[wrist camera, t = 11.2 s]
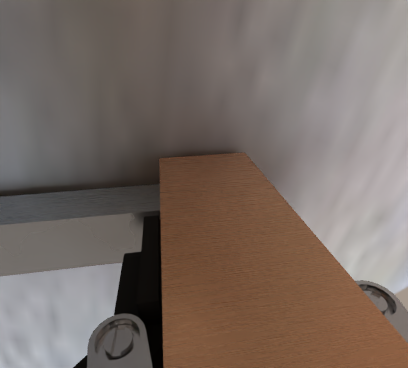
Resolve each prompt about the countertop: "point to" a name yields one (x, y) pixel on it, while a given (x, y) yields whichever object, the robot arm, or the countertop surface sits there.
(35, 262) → the crook tool
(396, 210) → the countertop surface
